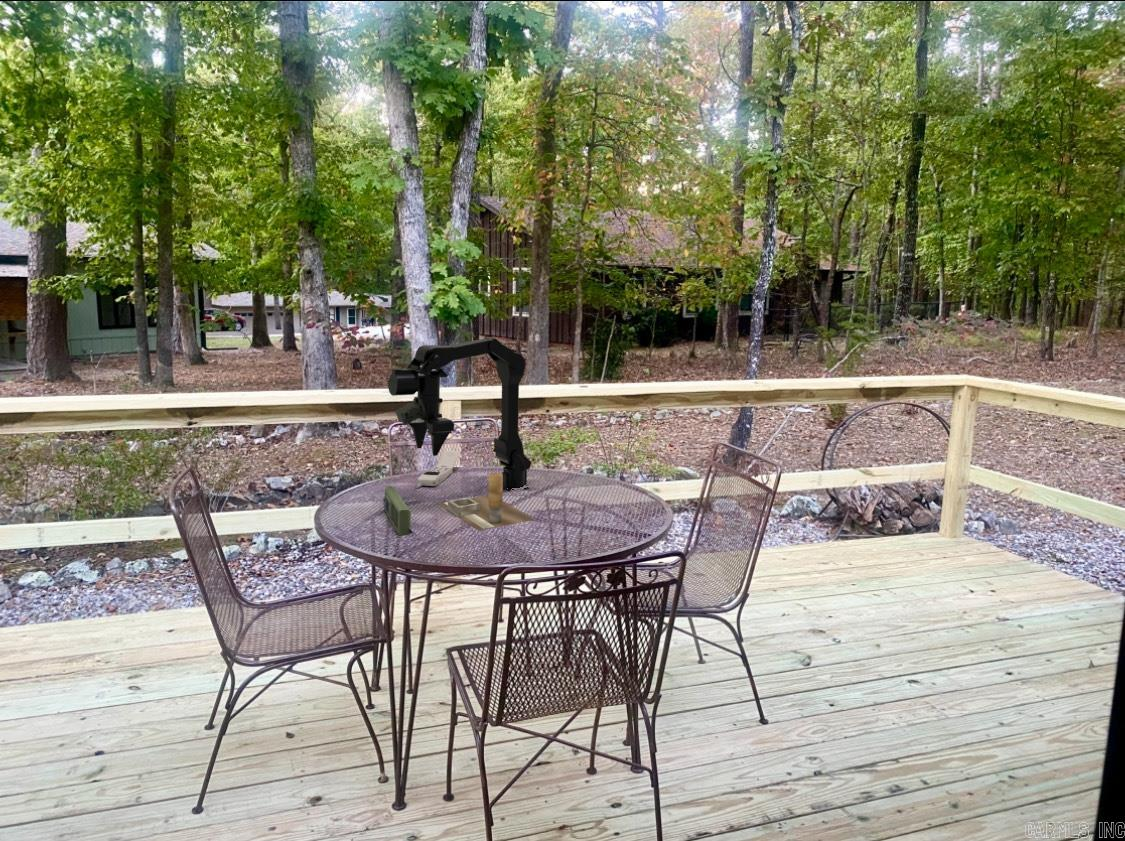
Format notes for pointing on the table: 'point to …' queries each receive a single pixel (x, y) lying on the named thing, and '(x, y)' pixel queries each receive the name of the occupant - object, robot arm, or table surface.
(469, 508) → the board
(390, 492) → the handheld radio
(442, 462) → the mobile phone
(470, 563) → the table surface
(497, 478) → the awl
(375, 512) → the table surface
